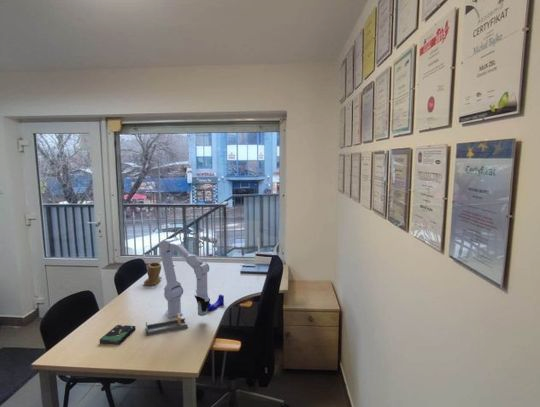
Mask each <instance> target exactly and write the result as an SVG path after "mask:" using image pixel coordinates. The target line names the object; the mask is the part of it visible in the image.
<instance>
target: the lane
mask: <svg viewBox="0 0 540 407" xmlns="http://www.w3.org/2000/svg"><path fill="white" fill-rule="evenodd" d="M188 328H189V326H188V323H187V321H186V318H185V317H184V318H181V325H178V323H177V319H173V320H172V319H171V320H167V321H161V322H156V323H150V324H148V322H147V321H146V322H145V328H144V329H145V330H144V331H145V336H146V337H147V336H154V335H157V334H164V333H169V332H174V331H179V330H184V329H188Z"/></svg>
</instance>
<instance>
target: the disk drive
mask: <svg viewBox="0 0 540 407" xmlns="http://www.w3.org/2000/svg"><path fill="white" fill-rule="evenodd" d="M135 331H136V325H122V324H117V325H115V326H114V327H113V328H112V329H111V330H109V331H107V333H105V335H104V334H103V336H102V337H101V338H99V344H100V345H112V346H113V345H114V346H120V345H121V344H122V343H124V342H125V340H127V338H128V337H130V336H131V335H132V334H133V333H134V332H135Z"/></svg>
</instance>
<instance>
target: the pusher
mask: <svg viewBox="0 0 540 407" xmlns="http://www.w3.org/2000/svg"><path fill="white" fill-rule="evenodd" d="M176 318H177V319H176V320H177V323H178V325H181V319H182V318H181V315H180V314H179V313H177V316H176Z"/></svg>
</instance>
